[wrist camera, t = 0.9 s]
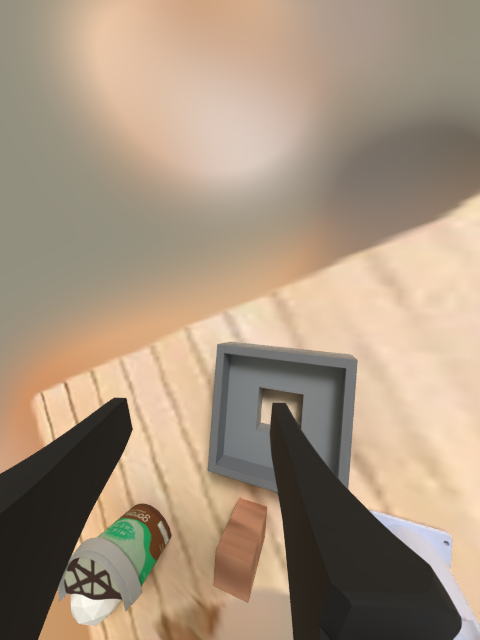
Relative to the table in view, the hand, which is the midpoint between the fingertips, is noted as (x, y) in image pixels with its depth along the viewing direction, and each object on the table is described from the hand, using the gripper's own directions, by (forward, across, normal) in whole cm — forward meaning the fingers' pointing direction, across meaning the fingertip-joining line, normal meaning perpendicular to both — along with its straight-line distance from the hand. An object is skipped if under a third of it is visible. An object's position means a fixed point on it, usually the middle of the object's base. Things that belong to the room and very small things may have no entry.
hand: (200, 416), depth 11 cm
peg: (+11, -4, +29) cm, 31 cm away
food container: (+14, +13, +36) cm, 41 cm away
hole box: (+16, -8, +14) cm, 22 cm away
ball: (+12, +17, +44) cm, 49 cm away
